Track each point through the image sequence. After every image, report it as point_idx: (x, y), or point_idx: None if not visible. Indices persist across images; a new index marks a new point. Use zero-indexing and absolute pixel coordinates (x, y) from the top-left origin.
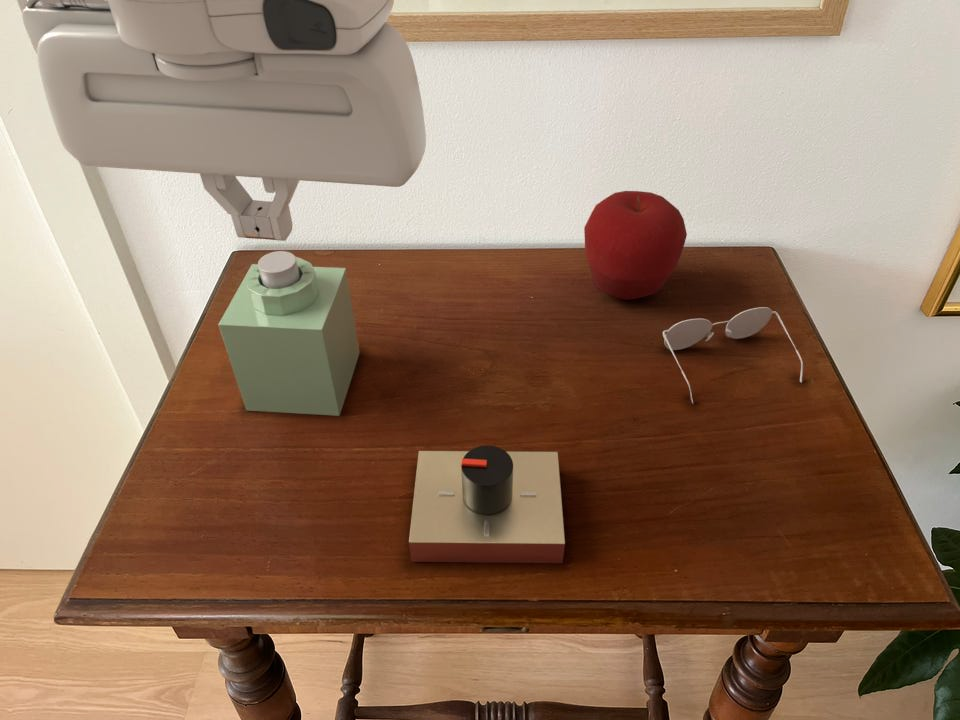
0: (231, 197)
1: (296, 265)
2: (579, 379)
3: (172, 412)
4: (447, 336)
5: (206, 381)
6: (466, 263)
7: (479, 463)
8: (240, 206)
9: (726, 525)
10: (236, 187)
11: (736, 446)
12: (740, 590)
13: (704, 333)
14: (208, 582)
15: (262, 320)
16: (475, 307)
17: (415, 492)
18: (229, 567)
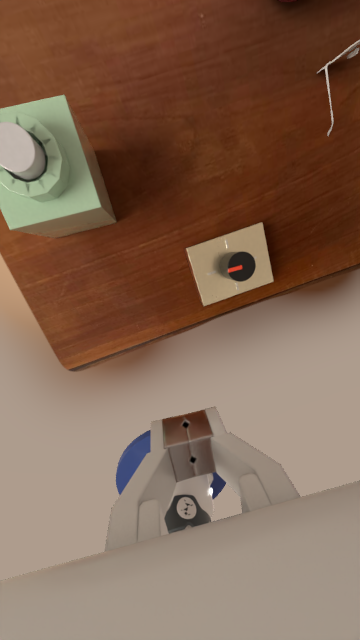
0: (162, 505)
1: (35, 143)
2: (256, 132)
3: (8, 256)
4: (150, 106)
5: (5, 220)
6: None
7: (238, 269)
8: (171, 483)
9: (336, 231)
10: (155, 490)
11: (347, 169)
12: (337, 266)
13: (350, 49)
14: (117, 343)
15: (43, 211)
16: (158, 50)
17: (195, 277)
18: (121, 334)
